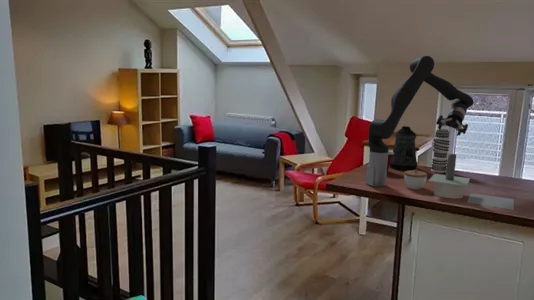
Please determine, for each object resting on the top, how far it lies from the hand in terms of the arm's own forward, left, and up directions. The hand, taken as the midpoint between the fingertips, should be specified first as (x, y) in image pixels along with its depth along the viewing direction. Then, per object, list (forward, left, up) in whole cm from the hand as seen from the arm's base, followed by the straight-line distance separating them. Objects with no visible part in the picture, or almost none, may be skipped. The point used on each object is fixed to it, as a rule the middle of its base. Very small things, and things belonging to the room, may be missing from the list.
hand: (448, 131), depth 206 cm
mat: (+6, -23, -29) cm, 38 cm away
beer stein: (+14, +48, -30) cm, 58 cm away
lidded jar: (-11, +7, -30) cm, 33 cm away
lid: (-5, -9, -22) cm, 25 cm away
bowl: (-5, -9, -29) cm, 31 cm away
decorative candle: (+29, +33, -30) cm, 53 cm away
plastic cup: (-4, +42, -30) cm, 52 cm away
